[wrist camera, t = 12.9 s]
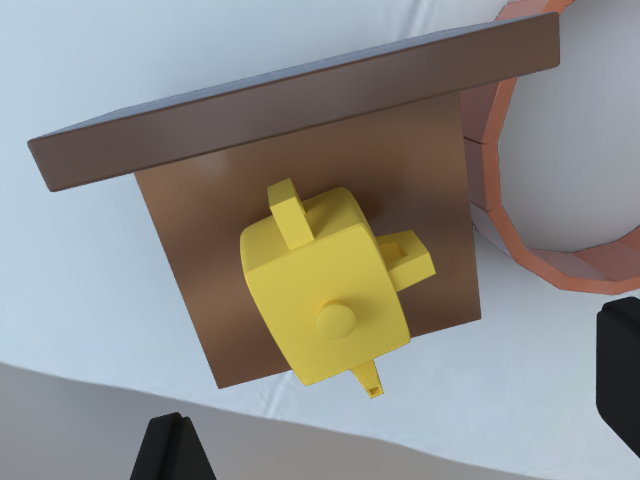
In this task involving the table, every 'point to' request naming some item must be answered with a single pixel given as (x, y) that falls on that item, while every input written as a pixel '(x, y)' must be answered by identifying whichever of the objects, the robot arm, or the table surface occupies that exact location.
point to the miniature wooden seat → (308, 169)
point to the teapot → (330, 283)
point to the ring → (485, 193)
